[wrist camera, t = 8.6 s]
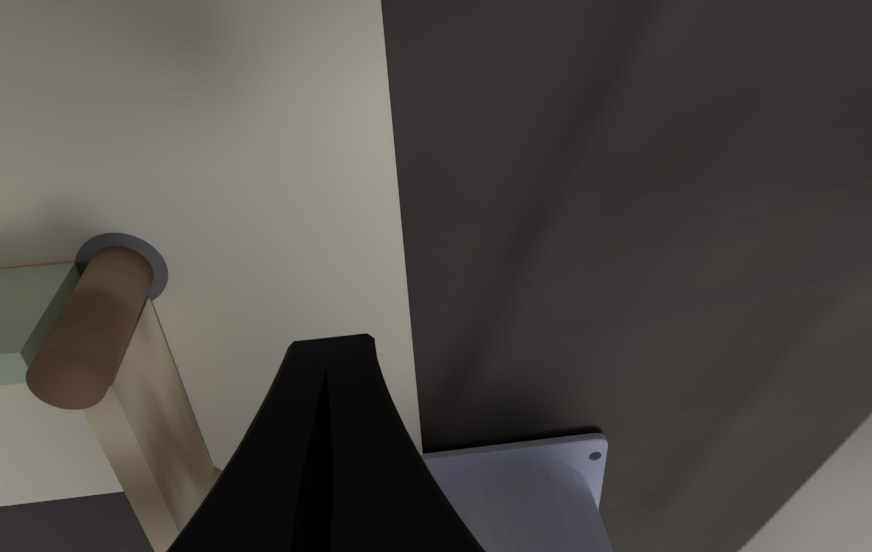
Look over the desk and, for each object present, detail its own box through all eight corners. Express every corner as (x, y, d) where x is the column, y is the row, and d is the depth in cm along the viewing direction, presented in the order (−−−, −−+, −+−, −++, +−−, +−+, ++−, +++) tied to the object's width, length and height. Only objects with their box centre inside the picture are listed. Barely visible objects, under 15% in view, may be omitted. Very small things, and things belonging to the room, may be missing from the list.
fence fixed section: (235, 486, 27) (214, 614, 22) (189, 492, 26) (159, 621, 22) (146, 236, 20) (92, 350, 16) (84, 242, 20) (13, 359, 15)
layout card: (422, 448, 26) (422, 456, 26) (-44, 505, 25) (-50, 514, 25) (367, -139, 15) (367, -138, 15) (-489, -83, 14) (-510, -81, 14)
